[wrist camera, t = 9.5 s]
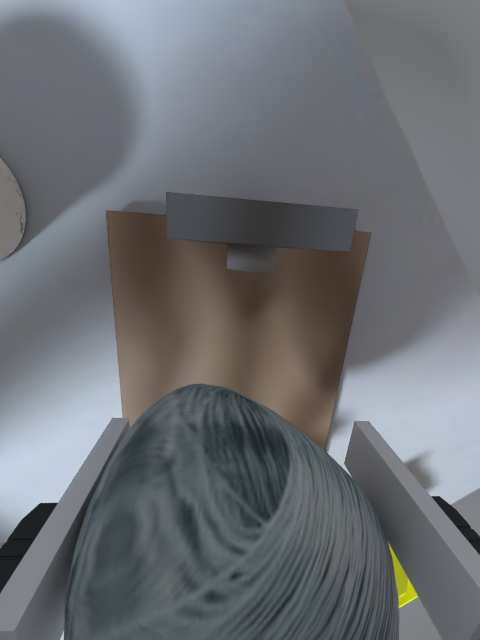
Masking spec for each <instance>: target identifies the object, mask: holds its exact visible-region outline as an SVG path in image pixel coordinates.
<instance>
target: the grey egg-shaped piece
mask: <svg viewBox="0 0 480 640" xmlns="http://www.w3.org/2000/svg"><path fill="white" fill-rule="evenodd" d="M64 640H399V596H398V591H397V586H396V579H395V572H394V566H393V559H392V555H391V552H390V548H389V545H388V542H387V538H386V536H385V533H384V530H383V527H382V524H381V521H380V519H379V517H378V515H377V513H376V511H375V509H374V506H373V504H372V503H371V502H370V500H369V499H368V497H367V496H366V494H365V493H364V491H363V490H362V489H361V487H360V486H359V485H358V484H357V483H356V482H355V481H354V480H353V479H352V478H351V476H350V475H349V474H348V473H347V472H346V471H345V470H344V469H343V468H342V467H341V466H340V465H339V464H338V463H337V462H336V461H335V460H334V459H333V458H332V457H331V456H330V455H329V454H328V453H327V452H325V451H324V450H323V449H322V448H321V447H320V446H319V445H318V444H316V443H315V442H314V441H313V440H312V439H310V438H309V437H308V436H306V435H305V434H304V433H303V432H302V431H300V430H299V429H298V428H297V427H296V426H294V425H293V424H291V423H290V422H288V421H287V420H285V419H284V418H283V417H281V416H280V415H278V414H277V413H276V412H274V411H273V410H271V409H269V408H267V407H266V406H264V405H262V404H260V403H258V402H256V401H254V400H252V399H250V398H248V397H246V396H244V395H242V394H240V393H238V392H236V391H234V390H232V389H230V388H227V387H221V386H214V385H208V384H202V383H201V384H190V385H187V386H183V387H180V388H178V389H176V390H174V391H173V392H171V393H169V394H167V395H166V396H164V397H163V398H161V399H160V400H158V401H157V402H156V403H154V404H153V405H152V406H151V407H150V408H148V409H147V410H146V411H145V412H144V413H143V414H142V415H141V416H140V417H139V418H138V419H137V420H136V421H135V423H134V424H133V425H132V426H131V428H130V429H129V430H128V432H127V433H126V435H125V436H124V438H123V439H122V441H121V443H120V444H119V446H118V448H117V449H116V451H115V453H114V455H113V456H112V458H111V460H110V461H109V463H108V465H107V467H106V469H105V471H104V473H103V475H102V478H101V480H100V482H99V484H98V486H97V488H96V490H95V492H94V494H93V496H92V498H91V501H90V503H89V506H88V509H87V512H86V515H85V518H84V521H83V524H82V527H81V531H80V534H79V537H78V540H77V544H76V547H75V551H74V556H73V561H72V565H71V570H70V575H69V580H68V585H67V591H66V596H65V609H64Z"/></svg>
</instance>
